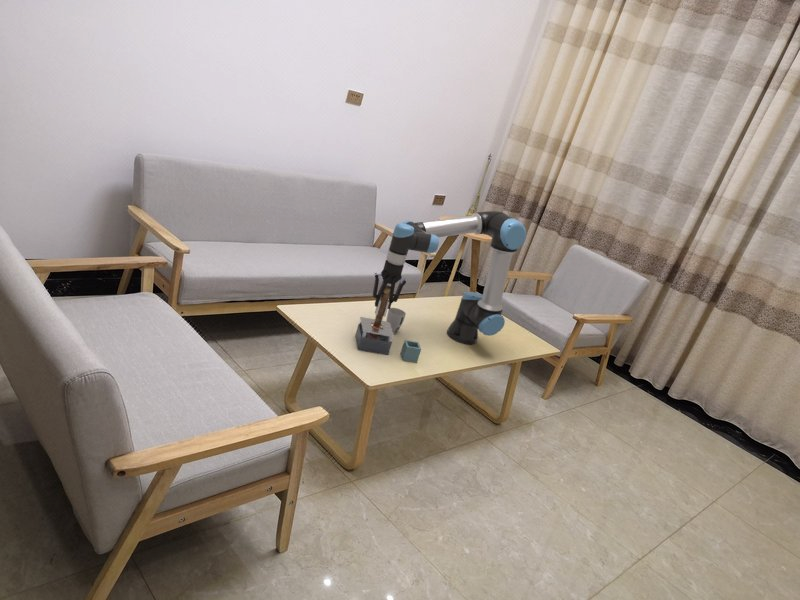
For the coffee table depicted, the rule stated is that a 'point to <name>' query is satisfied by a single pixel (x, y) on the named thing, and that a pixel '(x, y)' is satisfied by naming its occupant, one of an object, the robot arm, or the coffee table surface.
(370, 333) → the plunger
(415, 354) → the holder
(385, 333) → the grey square box
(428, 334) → the coffee table surface
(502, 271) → the robot arm
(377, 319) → the brown square bar
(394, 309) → the cup
